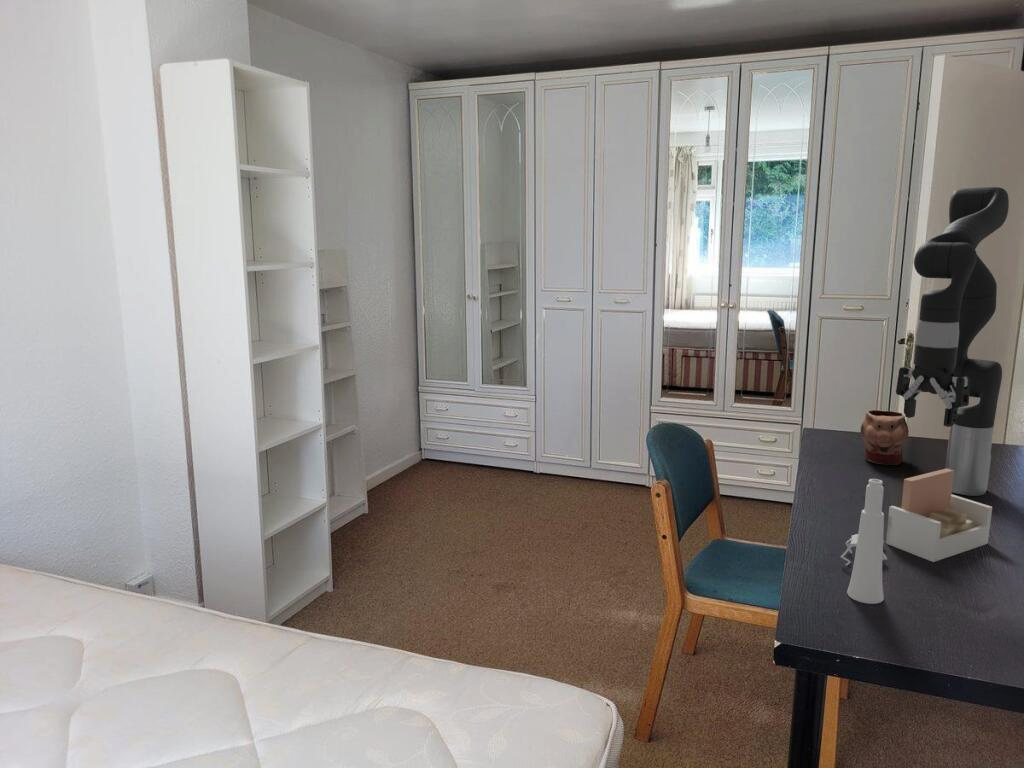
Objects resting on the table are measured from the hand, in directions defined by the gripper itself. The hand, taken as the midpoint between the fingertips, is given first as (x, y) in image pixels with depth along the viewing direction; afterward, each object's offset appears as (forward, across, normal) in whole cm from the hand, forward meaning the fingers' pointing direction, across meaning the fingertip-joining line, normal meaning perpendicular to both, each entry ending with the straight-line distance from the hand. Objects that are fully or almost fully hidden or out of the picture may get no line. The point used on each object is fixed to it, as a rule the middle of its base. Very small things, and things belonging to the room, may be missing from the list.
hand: (928, 421), depth 157 cm
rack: (+26, -4, 0) cm, 27 cm away
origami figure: (+26, -1, +17) cm, 31 cm away
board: (+25, -1, 0) cm, 25 cm away
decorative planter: (+26, +42, -44) cm, 66 cm away
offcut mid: (+23, -6, -2) cm, 24 cm away
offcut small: (+20, -6, 0) cm, 21 cm away
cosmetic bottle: (+26, -12, +30) cm, 42 cm away
